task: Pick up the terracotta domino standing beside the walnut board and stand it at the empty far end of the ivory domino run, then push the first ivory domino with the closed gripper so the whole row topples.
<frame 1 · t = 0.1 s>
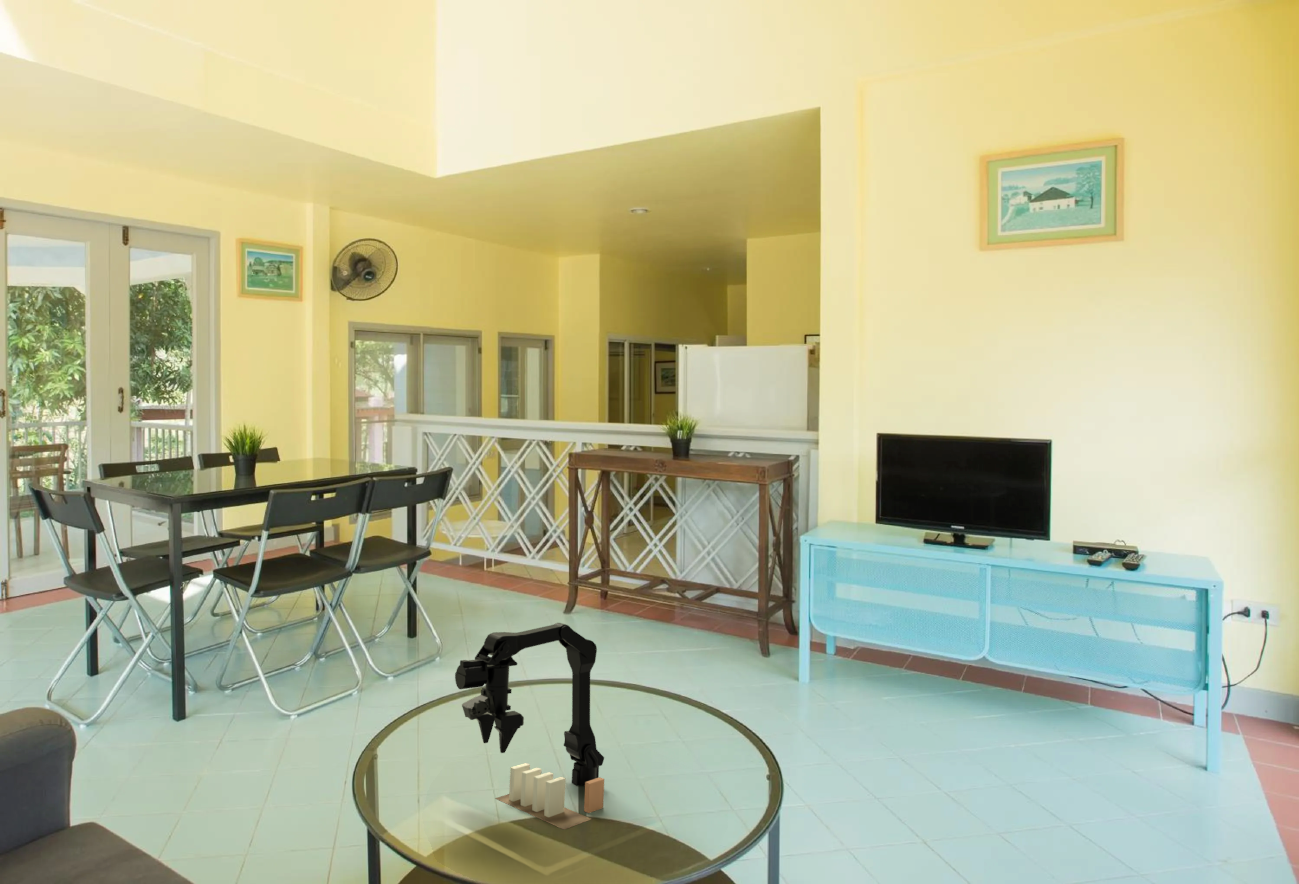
hand: (494, 747, 202), 14 cm above the table, tool pointing down, fingers open, 9 cm apart
ivory domino 1: (518, 798, 205), point 1 cm above the table, touching walnut board
ivory domino 4: (554, 813, 196), point 1 cm above the table, touching walnut board
terracotta domino: (593, 813, 200), on the table
ivory domino 2: (530, 803, 202), point 1 cm above the table, touching walnut board
walnut board: (541, 812, 199), on the table
ivory domino 3: (542, 808, 199), point 1 cm above the table, touching walnut board
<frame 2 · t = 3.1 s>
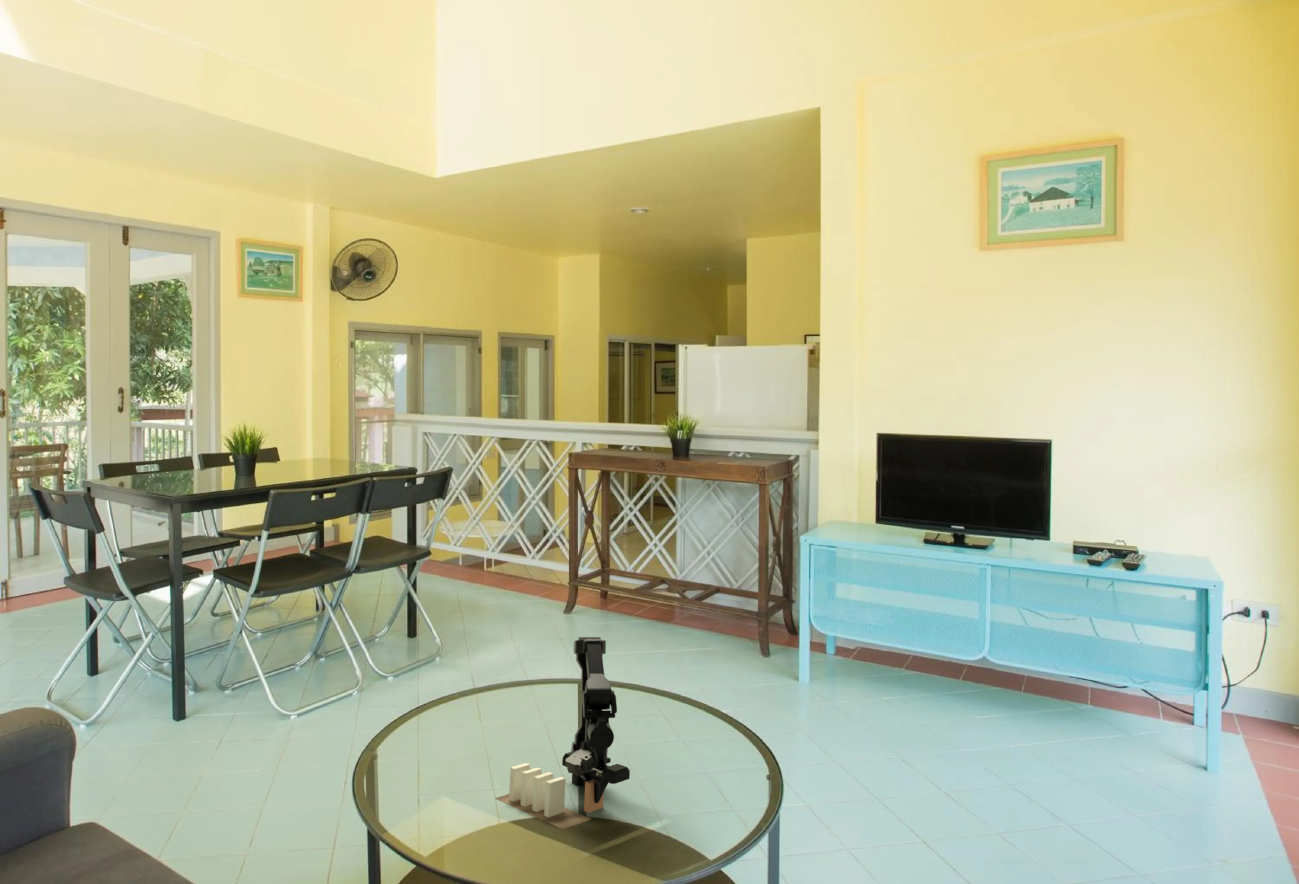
hand: (593, 801, 200), 3 cm above the table, tool pointing down, fingers closed on terracotta domino, 2 cm apart
terracotta domino: (593, 813, 200), on the table, touching gripper
everything else where it was.
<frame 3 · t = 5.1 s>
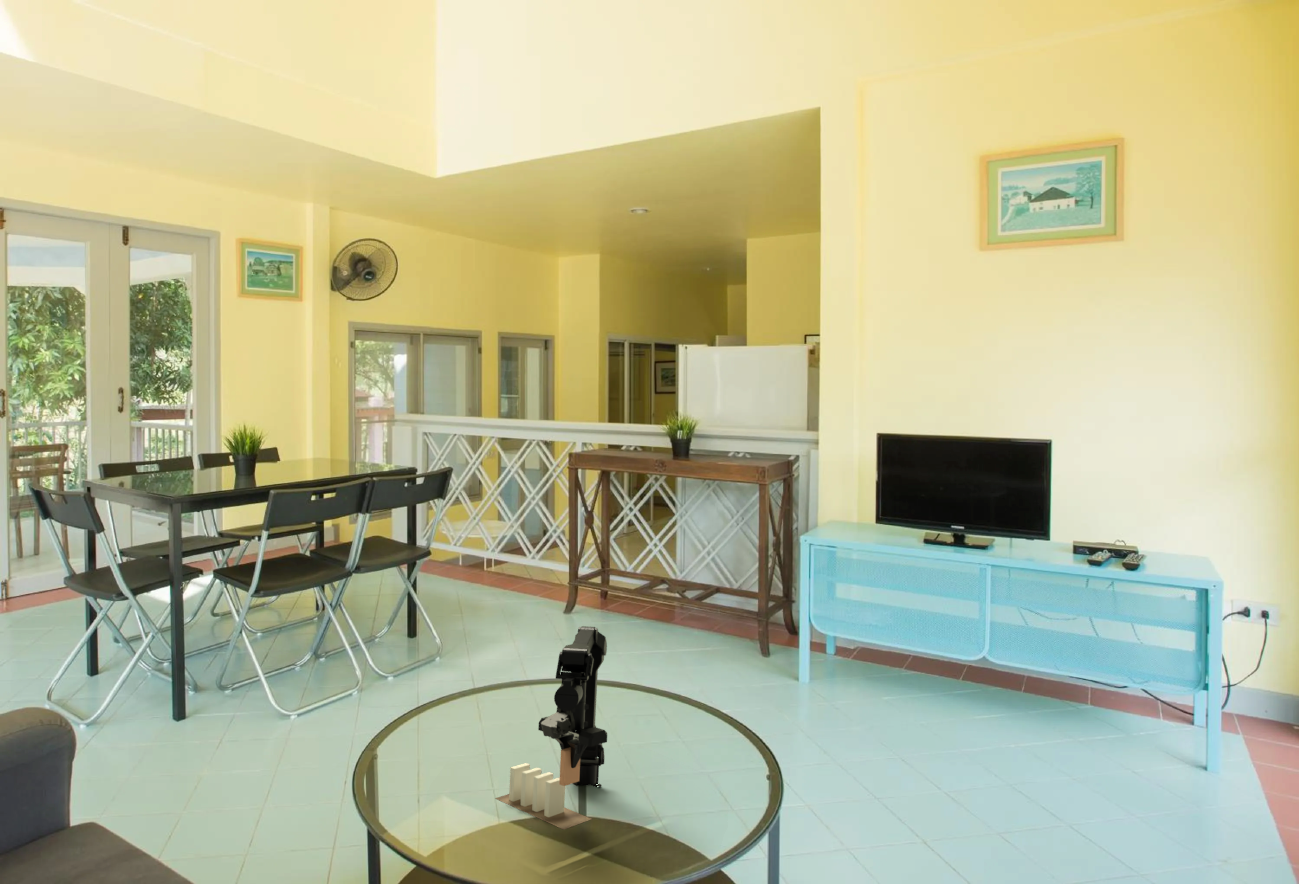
hand: (570, 766, 194), 13 cm above the table, tool pointing down, fingers closed on terracotta domino
terracotta domino: (569, 782, 194), point 10 cm above the table, touching gripper
everything else where it was.
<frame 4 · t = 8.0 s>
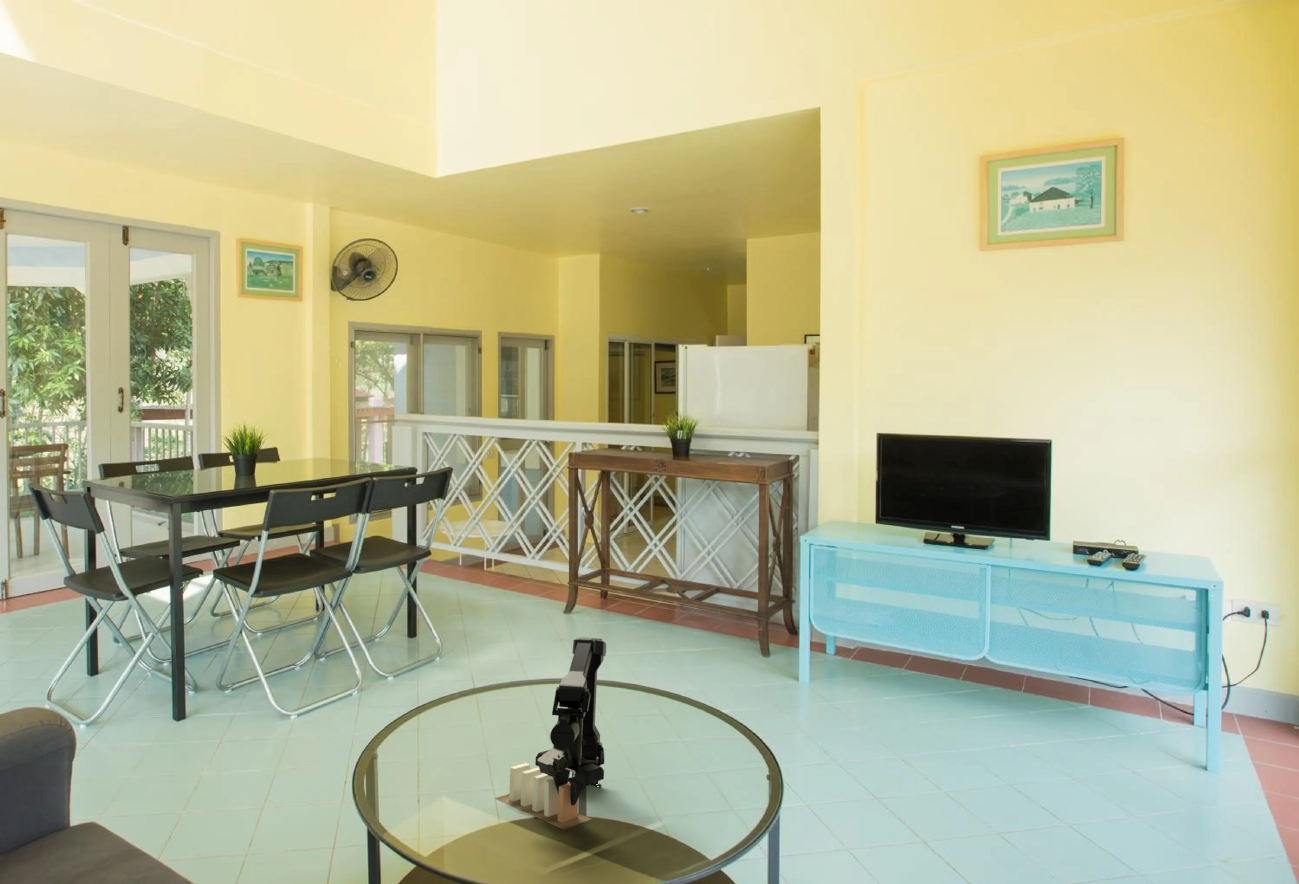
hand: (567, 802, 193), 5 cm above the table, tool pointing down, fingers open, 4 cm apart
ivory domino 4: (554, 813, 196), point 1 cm above the table, touching gripper, walnut board
terracotta domino: (567, 818, 193), point 1 cm above the table, touching walnut board
everything else where it was.
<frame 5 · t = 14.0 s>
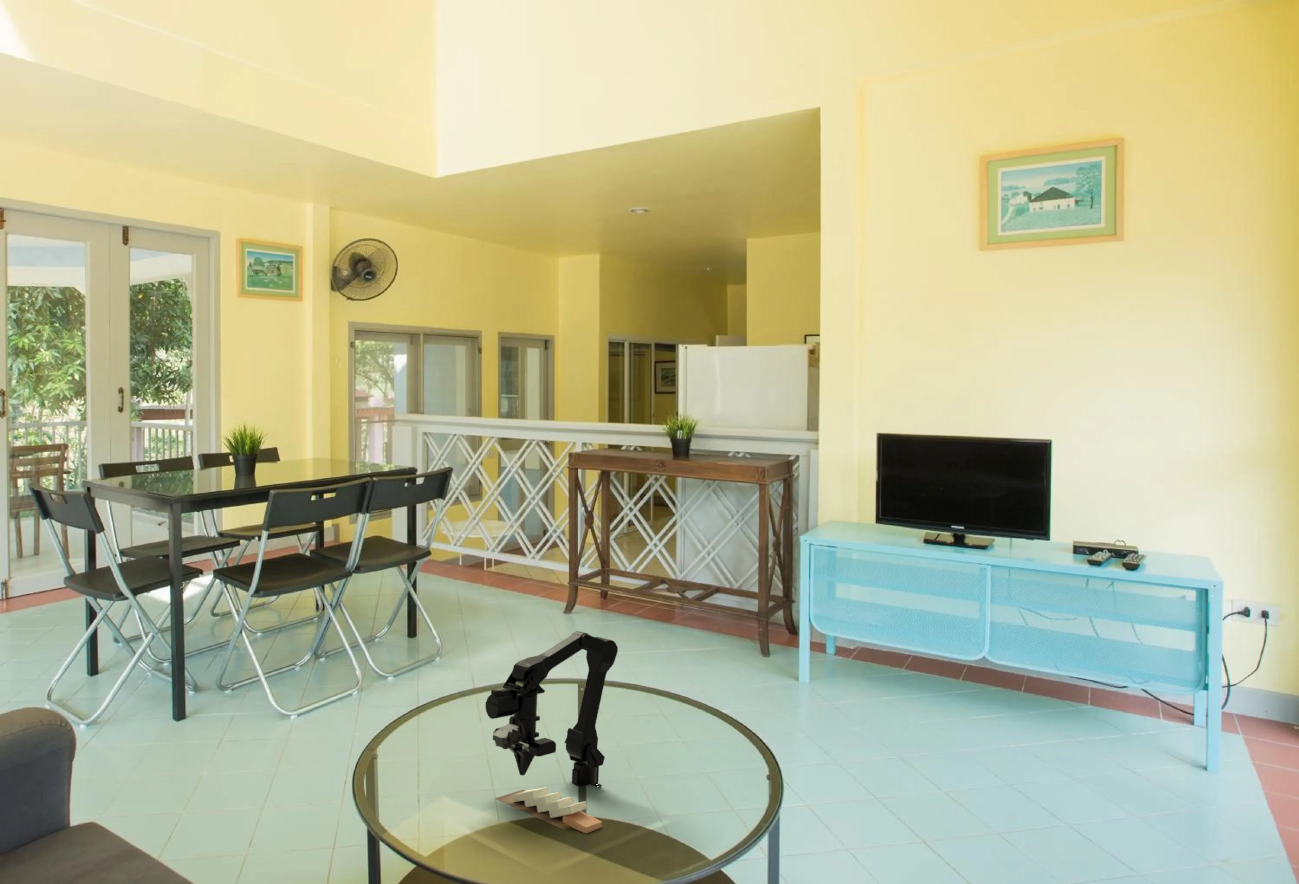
hand: (522, 774, 205), 7 cm above the table, tool pointing down, fingers closed
ivory domino 1: (521, 795, 205), point 2 cm above the table, tilted 69°, touching ivory domino 2, walnut board
ivory domino 4: (557, 811, 196), point 2 cm above the table, tilted 67°, touching terracotta domino
terracotta domino: (570, 815, 193), point 2 cm above the table, tilted 93°, touching ivory domino 4, walnut board
ivory domino 2: (532, 801, 202), point 2 cm above the table, tilted 69°, touching ivory domino 1, ivory domino 3, walnut board
ivory domino 3: (545, 806, 199), point 2 cm above the table, tilted 68°, touching ivory domino 2, walnut board
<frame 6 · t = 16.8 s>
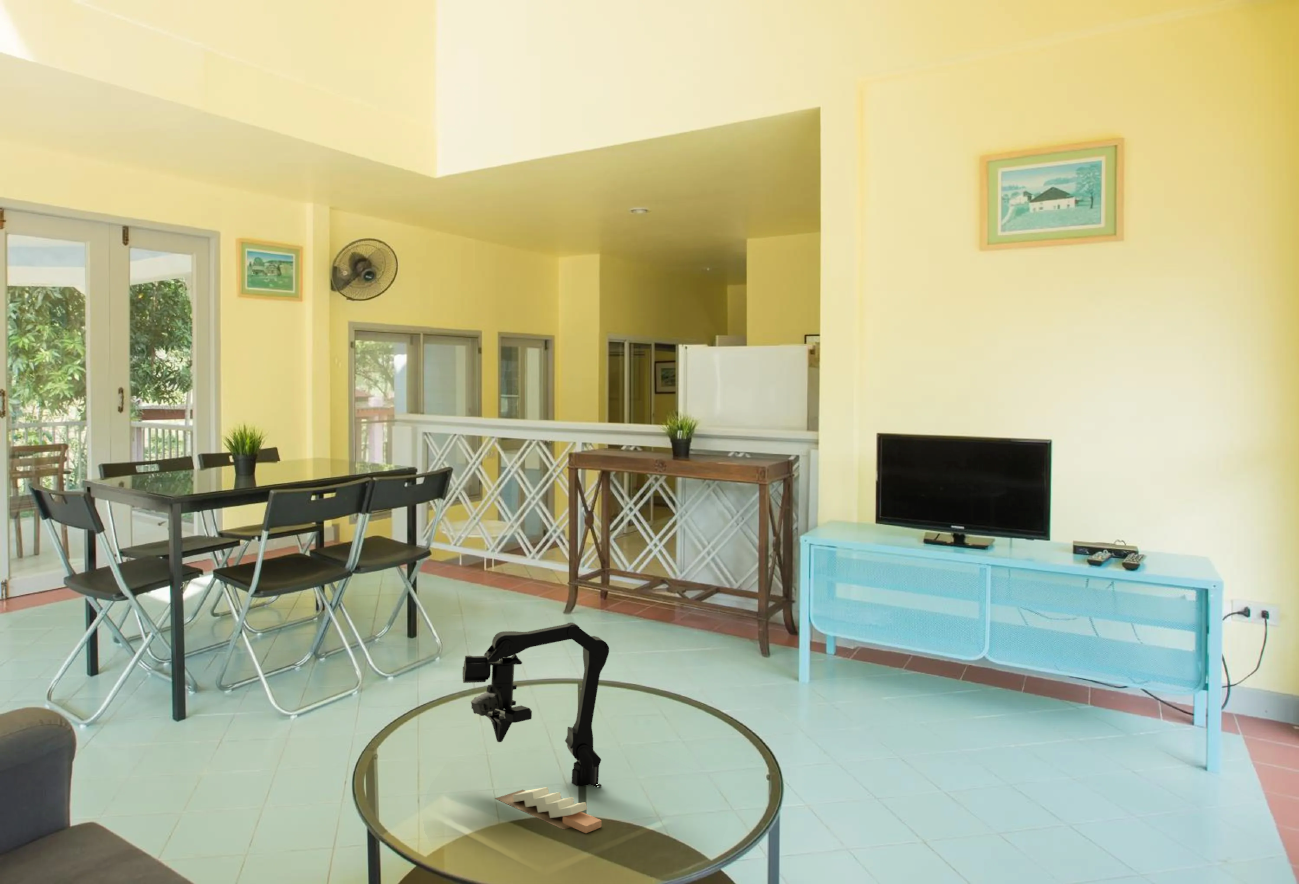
hand: (499, 741, 212), 13 cm above the table, tool pointing down, fingers closed
ivory domino 4: (557, 811, 196), point 2 cm above the table, tilted 69°, touching ivory domino 3, terracotta domino, walnut board
ivory domino 3: (545, 806, 199), point 2 cm above the table, tilted 69°, touching ivory domino 2, ivory domino 4, walnut board
everything else where it was.
at the end: terracotta domino tilted 90°; terracotta domino inside the target area on the walnut board (0.9 cm from its centre), point 1.8 cm above the walnut board's base; ivory domino 4 tilted 69° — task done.
